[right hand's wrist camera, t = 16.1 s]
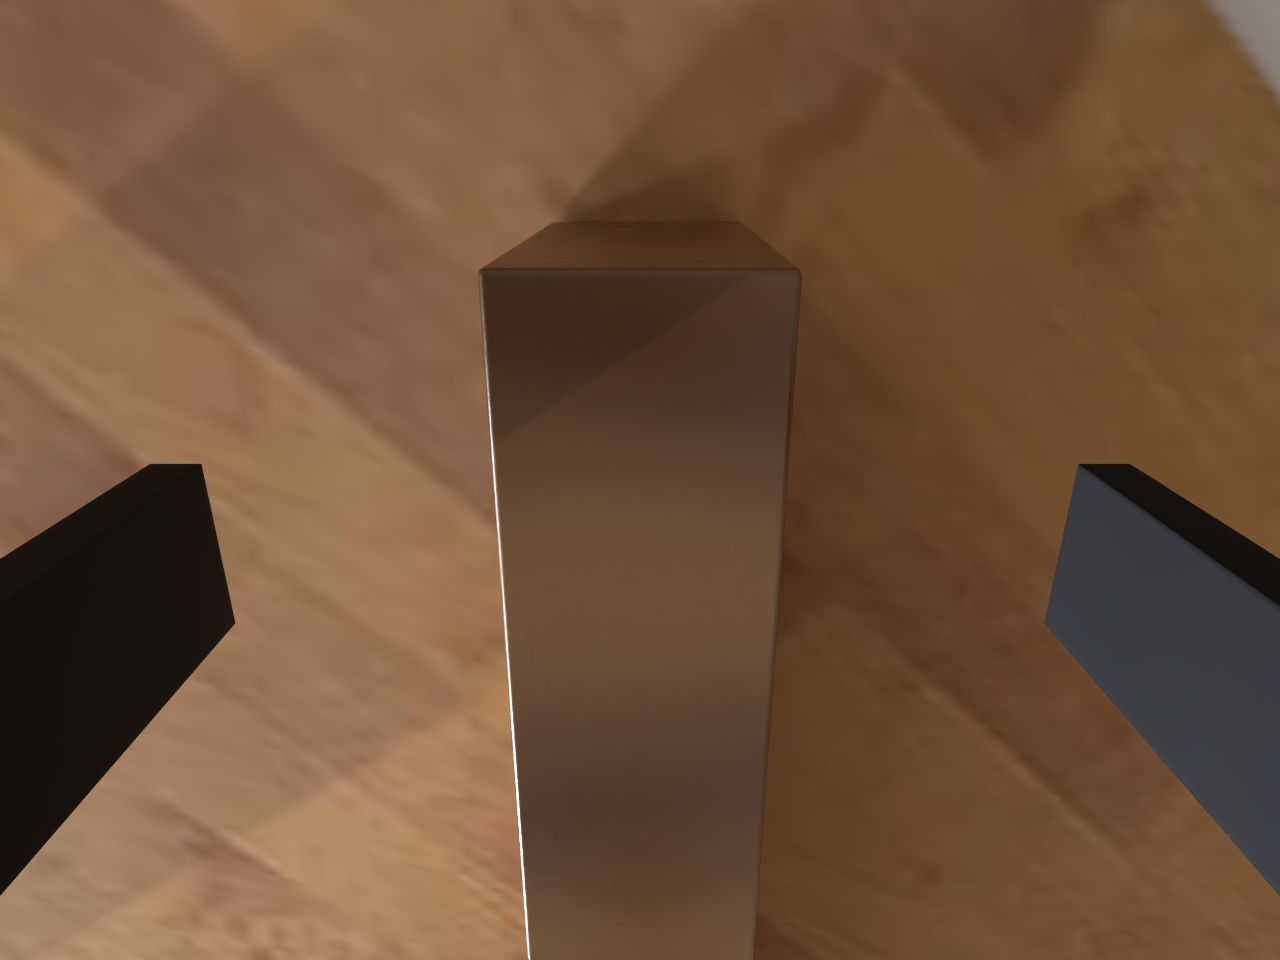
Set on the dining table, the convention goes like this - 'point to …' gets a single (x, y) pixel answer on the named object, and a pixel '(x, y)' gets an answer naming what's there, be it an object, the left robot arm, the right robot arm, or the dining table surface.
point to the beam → (640, 573)
